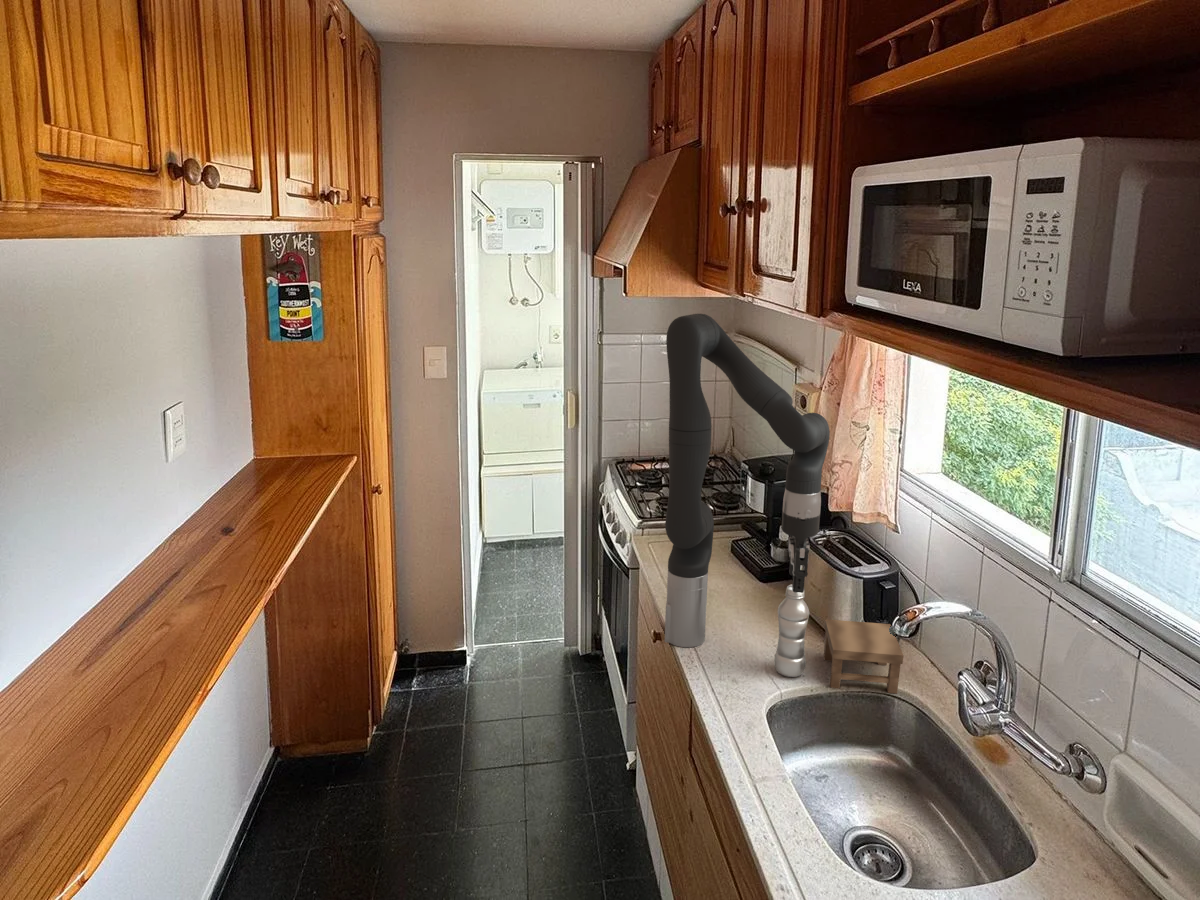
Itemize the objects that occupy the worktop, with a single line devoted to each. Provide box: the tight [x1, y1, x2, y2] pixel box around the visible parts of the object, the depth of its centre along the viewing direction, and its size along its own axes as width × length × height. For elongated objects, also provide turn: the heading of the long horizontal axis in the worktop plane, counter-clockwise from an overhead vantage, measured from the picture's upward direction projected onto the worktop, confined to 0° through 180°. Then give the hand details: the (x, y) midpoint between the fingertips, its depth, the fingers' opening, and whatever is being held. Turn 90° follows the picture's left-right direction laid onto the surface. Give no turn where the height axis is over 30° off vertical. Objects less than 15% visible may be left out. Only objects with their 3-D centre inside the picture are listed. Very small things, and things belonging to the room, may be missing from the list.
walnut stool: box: [823, 618, 904, 694], centre depth 178 cm, size 14×14×9 cm
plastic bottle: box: [773, 584, 810, 678], centre depth 177 cm, size 6×7×20 cm
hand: (796, 583), depth 174 cm, fingers open, 8 cm apart
